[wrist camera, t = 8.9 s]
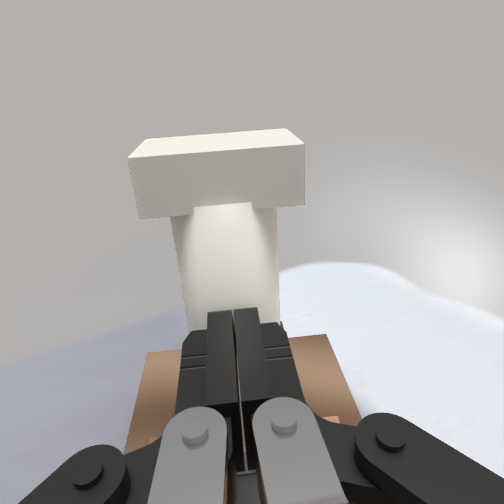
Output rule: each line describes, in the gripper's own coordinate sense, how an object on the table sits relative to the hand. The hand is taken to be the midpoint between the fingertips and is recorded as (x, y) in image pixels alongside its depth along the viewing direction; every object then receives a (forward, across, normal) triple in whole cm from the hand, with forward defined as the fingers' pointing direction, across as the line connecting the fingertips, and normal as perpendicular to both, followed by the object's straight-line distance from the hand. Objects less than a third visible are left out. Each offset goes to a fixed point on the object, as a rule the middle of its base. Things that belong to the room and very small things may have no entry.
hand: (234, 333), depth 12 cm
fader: (+2, 0, +6) cm, 7 cm away
